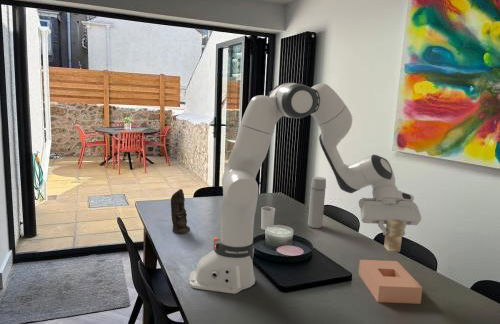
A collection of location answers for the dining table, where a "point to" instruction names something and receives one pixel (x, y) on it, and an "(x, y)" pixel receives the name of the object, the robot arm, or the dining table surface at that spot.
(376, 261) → the socket
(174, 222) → the statue
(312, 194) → the water bottle
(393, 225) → the peg
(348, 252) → the dining table surface
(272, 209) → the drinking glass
